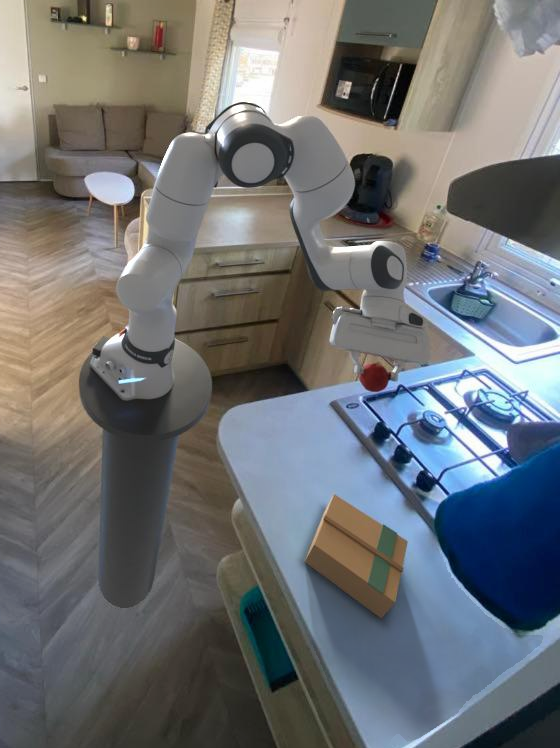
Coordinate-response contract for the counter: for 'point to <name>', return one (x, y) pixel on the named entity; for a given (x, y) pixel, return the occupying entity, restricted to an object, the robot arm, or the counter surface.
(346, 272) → the robot arm
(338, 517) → the brown cardboard box
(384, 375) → the red round fruit
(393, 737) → the counter surface
